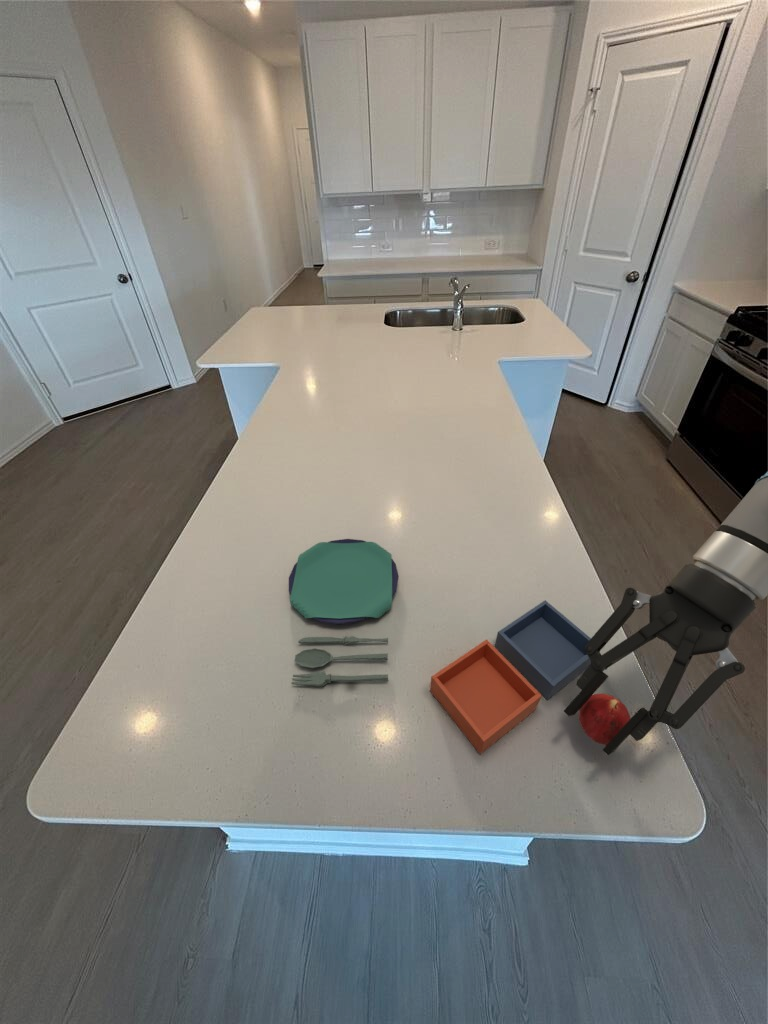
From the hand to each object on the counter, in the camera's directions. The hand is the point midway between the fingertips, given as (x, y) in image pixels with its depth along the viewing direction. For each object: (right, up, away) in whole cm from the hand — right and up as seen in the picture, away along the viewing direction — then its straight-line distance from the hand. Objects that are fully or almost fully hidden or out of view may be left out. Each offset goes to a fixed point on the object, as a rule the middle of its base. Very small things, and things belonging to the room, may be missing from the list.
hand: (588, 731), depth 53 cm
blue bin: (0, +4, +16) cm, 16 cm away
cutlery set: (-32, +10, +24) cm, 41 cm away
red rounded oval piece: (+3, -2, +5) cm, 6 cm away
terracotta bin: (-10, -1, +11) cm, 15 cm away
